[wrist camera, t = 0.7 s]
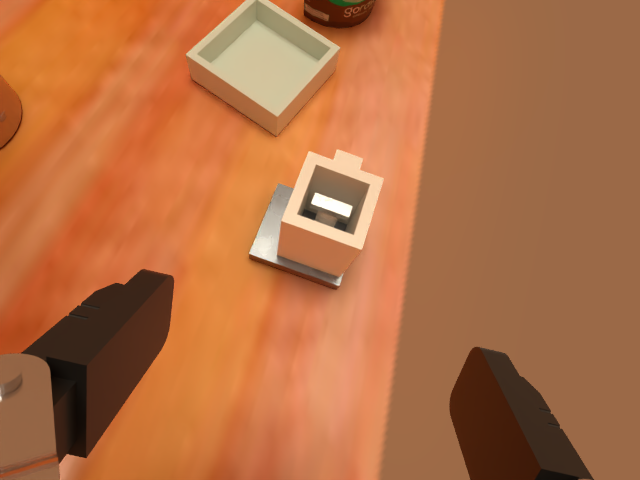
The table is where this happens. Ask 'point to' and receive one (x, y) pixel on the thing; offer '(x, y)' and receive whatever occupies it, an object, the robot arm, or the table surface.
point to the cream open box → (330, 243)
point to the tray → (263, 63)
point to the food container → (338, 12)
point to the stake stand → (270, 230)
